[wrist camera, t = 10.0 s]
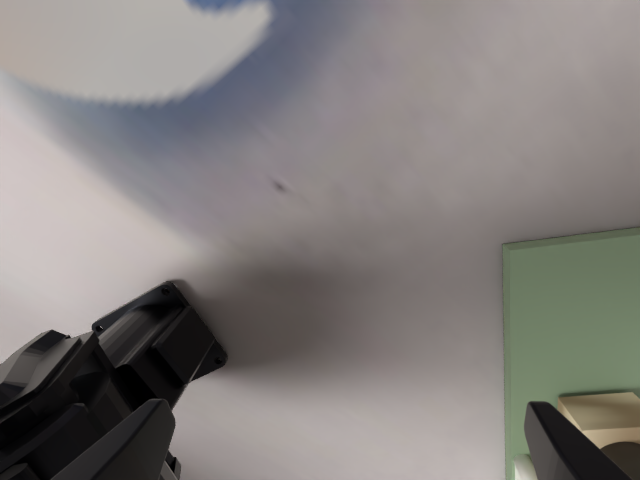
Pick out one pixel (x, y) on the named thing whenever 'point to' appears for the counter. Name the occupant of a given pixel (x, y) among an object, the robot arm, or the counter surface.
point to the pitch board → (568, 323)
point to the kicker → (609, 425)
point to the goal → (524, 468)
